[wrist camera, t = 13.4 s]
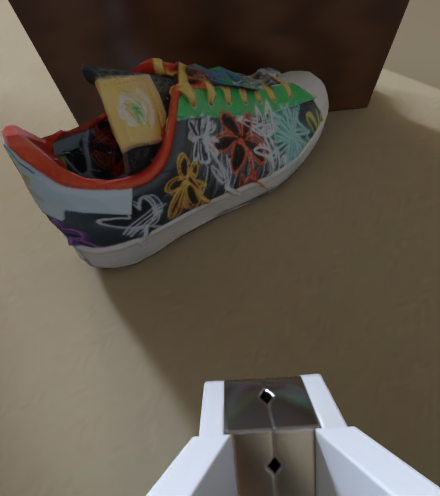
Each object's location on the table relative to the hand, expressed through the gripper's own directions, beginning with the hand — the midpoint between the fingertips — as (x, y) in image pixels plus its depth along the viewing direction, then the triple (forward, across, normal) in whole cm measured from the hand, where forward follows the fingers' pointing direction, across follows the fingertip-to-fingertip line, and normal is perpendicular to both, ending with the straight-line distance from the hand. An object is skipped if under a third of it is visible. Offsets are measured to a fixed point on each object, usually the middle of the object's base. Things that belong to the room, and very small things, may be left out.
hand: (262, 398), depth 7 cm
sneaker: (+16, -1, +6) cm, 17 cm away
